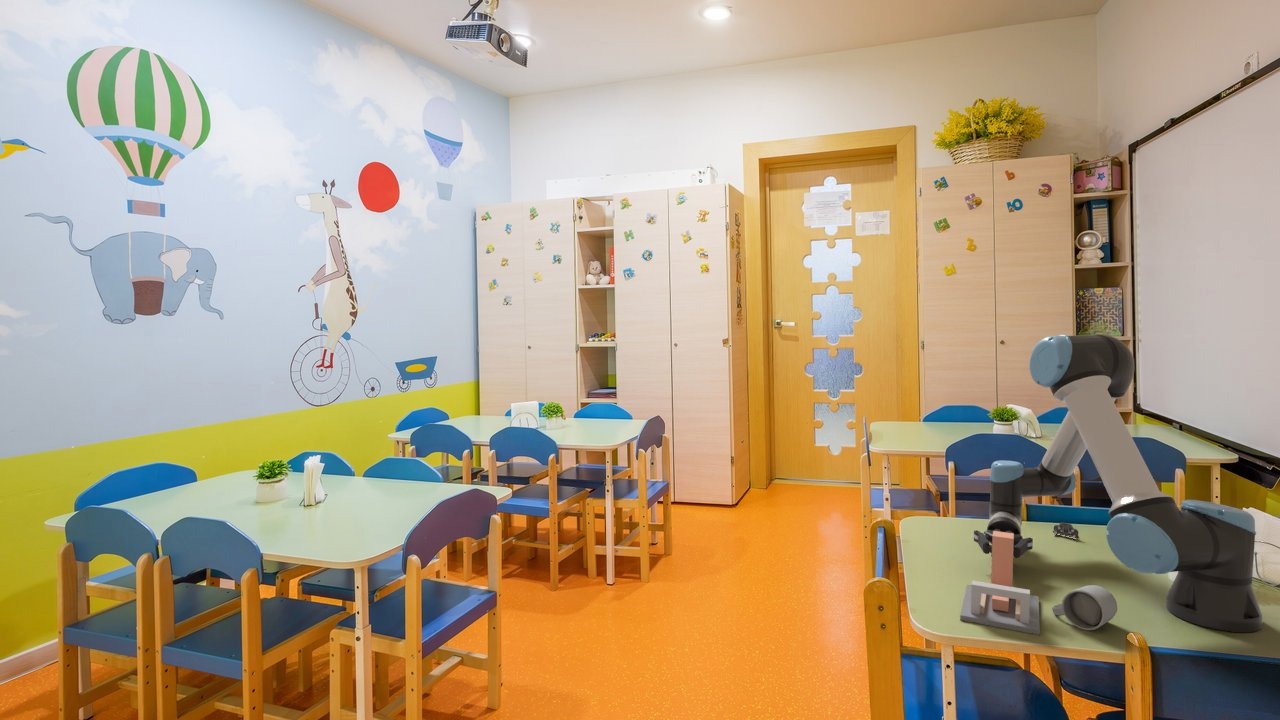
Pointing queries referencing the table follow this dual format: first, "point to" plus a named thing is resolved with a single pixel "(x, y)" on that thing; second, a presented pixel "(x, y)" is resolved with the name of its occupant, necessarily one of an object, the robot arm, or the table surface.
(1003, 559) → the clip bar
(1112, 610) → the ceramic mug
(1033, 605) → the mount
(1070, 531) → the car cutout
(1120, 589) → the table surface
